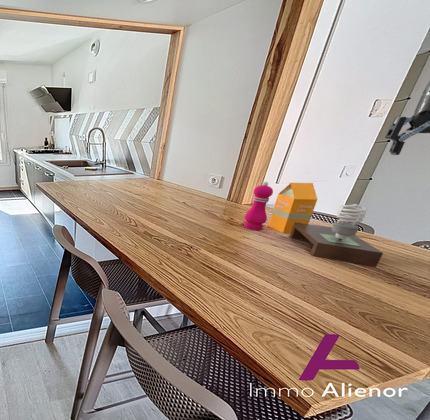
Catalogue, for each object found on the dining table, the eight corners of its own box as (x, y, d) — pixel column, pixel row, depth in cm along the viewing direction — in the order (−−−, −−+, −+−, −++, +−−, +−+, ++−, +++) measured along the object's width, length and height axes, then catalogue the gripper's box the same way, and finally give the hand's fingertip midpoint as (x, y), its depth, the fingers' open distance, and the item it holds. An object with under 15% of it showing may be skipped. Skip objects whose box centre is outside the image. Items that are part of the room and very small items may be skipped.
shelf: (339, 243, 89) (345, 228, 87) (374, 270, 73) (383, 252, 71) (289, 236, 96) (294, 221, 94) (311, 259, 79) (318, 242, 77)
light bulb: (334, 241, 77) (349, 205, 73) (322, 234, 82) (336, 200, 78) (358, 244, 75) (375, 207, 71) (344, 237, 80) (359, 202, 76)
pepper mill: (260, 226, 105) (274, 180, 99) (266, 232, 99) (280, 184, 93) (240, 223, 108) (252, 179, 102) (244, 229, 102) (257, 182, 96)
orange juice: (267, 225, 106) (281, 180, 99) (288, 226, 105) (304, 181, 99) (282, 233, 98) (299, 185, 92) (305, 233, 98) (323, 185, 92)
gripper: (416, 92, 64) (389, 155, 69) (508, 89, 58) (470, 158, 63) (396, 96, 70) (372, 153, 75) (476, 93, 64) (444, 155, 69)
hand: (416, 155), depth 69 cm, fingers open, 8 cm apart
